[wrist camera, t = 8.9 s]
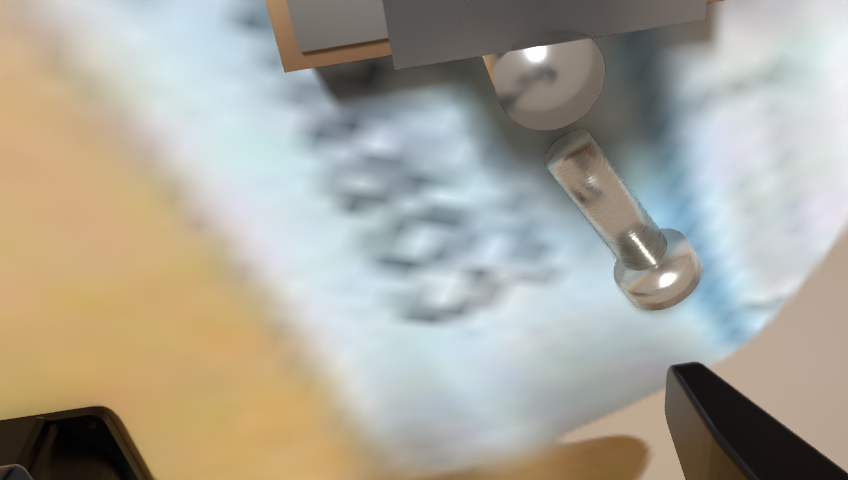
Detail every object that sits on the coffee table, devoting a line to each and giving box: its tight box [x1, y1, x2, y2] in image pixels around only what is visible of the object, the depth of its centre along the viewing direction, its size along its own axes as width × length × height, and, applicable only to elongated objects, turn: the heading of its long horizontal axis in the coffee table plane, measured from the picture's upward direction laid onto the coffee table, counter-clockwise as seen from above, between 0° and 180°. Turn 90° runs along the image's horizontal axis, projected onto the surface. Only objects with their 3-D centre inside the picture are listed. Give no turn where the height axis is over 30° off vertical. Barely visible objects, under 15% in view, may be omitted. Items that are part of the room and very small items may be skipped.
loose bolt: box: [544, 129, 703, 310], centre depth 22 cm, size 6×3×3 cm, turn 38°
